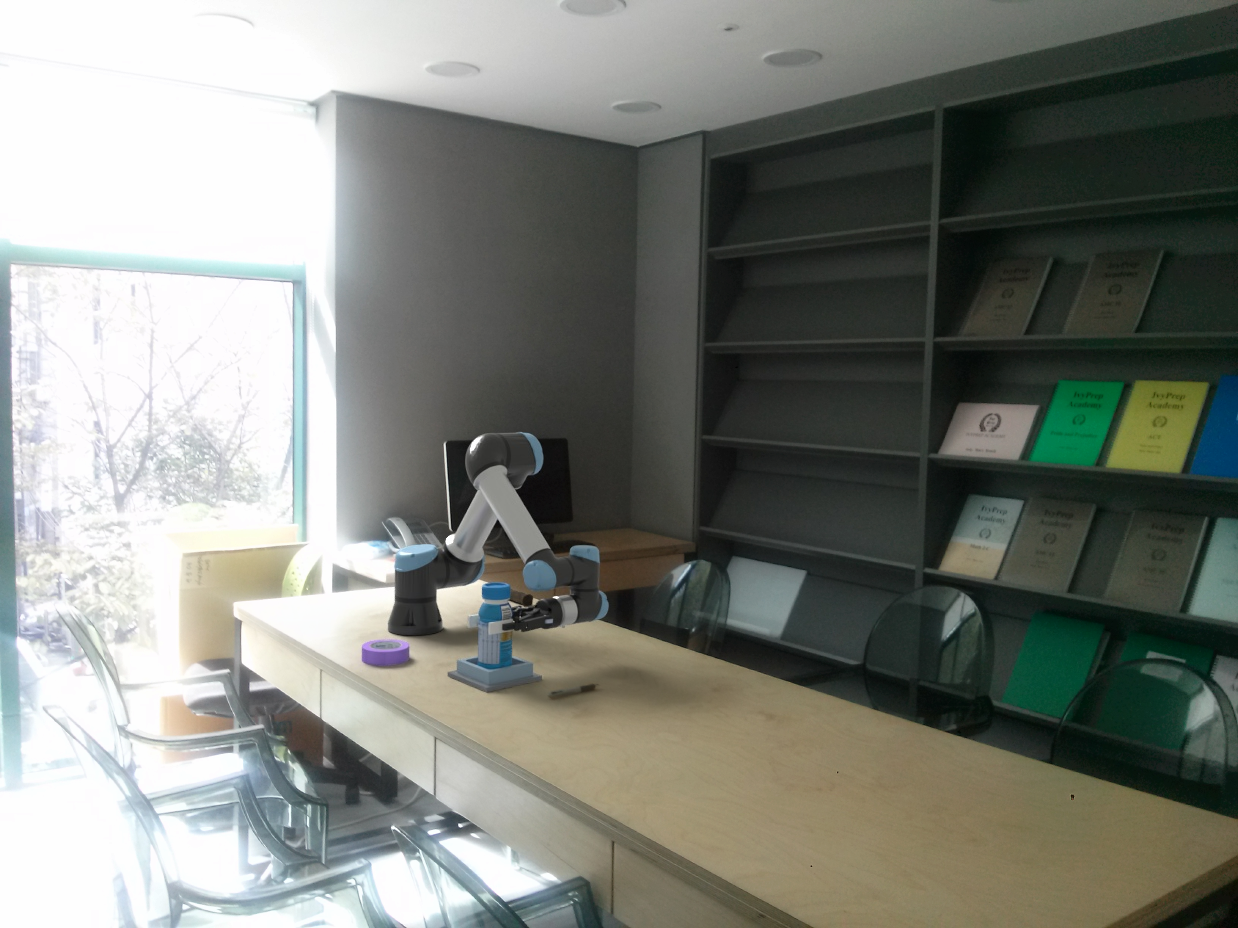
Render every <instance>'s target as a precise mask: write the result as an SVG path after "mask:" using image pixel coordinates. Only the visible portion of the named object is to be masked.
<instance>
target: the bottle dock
mask: <svg viewBox="0 0 1238 928" xmlns="http://www.w3.org/2000/svg"><path fill="white" fill-rule="evenodd" d="M447 677H449V678H451V679H453V680H456V681H458V682H461V683H463V684H466V685H468V686H470V687H473V688H475V689H478V690H480V691H483V692H485V693H489V692H493V691H498V690H502V689H507V688H508V689H509V688H511V687H516V686H520V685H526V684H529V683H533V682H538V681H543V675H541V674H538V673H536V672H534V662H532V661H529V660H526V659H523V658H520V657H518V656H514V655H512V666H508V667H503V668H498V669H493V670H488V669H485V668H483V667H480V666H478V655H476V656H470V657H465V658H460V659H456V670H452V671H447Z"/></svg>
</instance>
